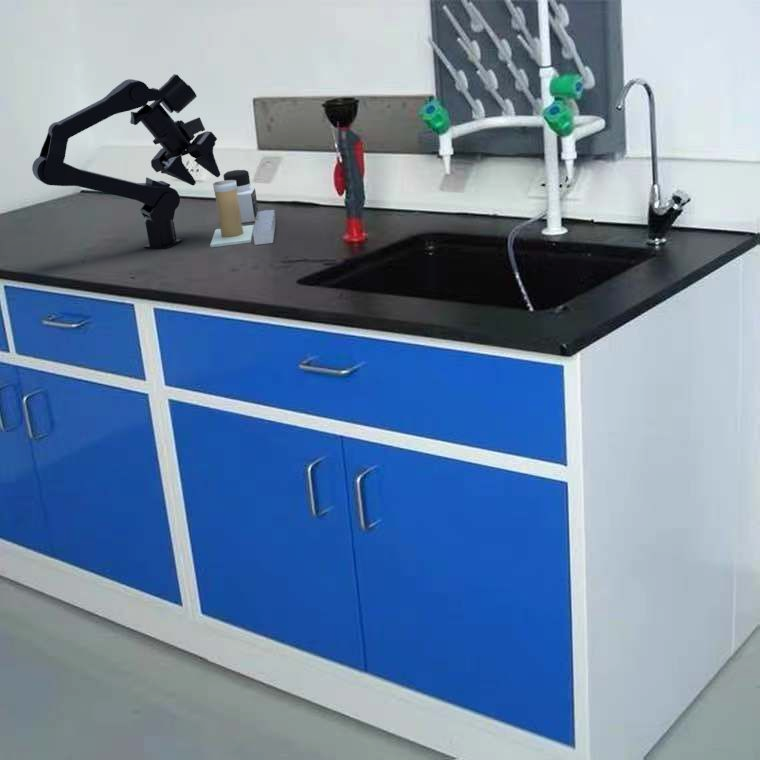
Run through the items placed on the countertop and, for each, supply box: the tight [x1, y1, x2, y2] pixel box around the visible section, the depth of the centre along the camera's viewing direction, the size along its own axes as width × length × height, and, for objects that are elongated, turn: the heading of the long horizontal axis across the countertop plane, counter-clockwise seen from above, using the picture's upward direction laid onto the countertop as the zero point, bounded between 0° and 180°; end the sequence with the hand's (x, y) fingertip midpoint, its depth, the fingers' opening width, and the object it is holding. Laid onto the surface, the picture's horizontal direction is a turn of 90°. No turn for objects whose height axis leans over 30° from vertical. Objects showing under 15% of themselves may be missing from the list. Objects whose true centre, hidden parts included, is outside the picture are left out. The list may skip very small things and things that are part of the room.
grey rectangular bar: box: [252, 208, 277, 246], centre depth 290 cm, size 25×4×3 cm, turn 3°
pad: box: [209, 224, 254, 248], centre depth 289 cm, size 9×16×1 cm, turn 3°
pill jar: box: [212, 180, 243, 237], centre depth 287 cm, size 5×5×12 cm
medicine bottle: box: [223, 169, 259, 224], centre depth 304 cm, size 7×7×12 cm
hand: (206, 180), depth 289 cm, fingers open, 9 cm apart
